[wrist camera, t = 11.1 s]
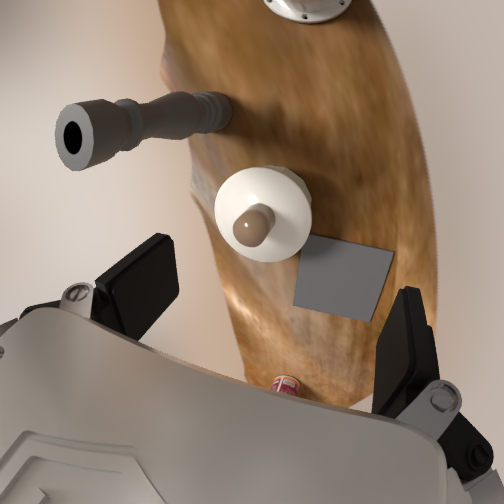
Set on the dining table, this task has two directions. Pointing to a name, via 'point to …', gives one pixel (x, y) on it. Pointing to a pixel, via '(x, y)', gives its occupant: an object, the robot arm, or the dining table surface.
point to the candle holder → (134, 124)
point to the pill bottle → (286, 385)
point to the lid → (263, 214)
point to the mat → (341, 277)
